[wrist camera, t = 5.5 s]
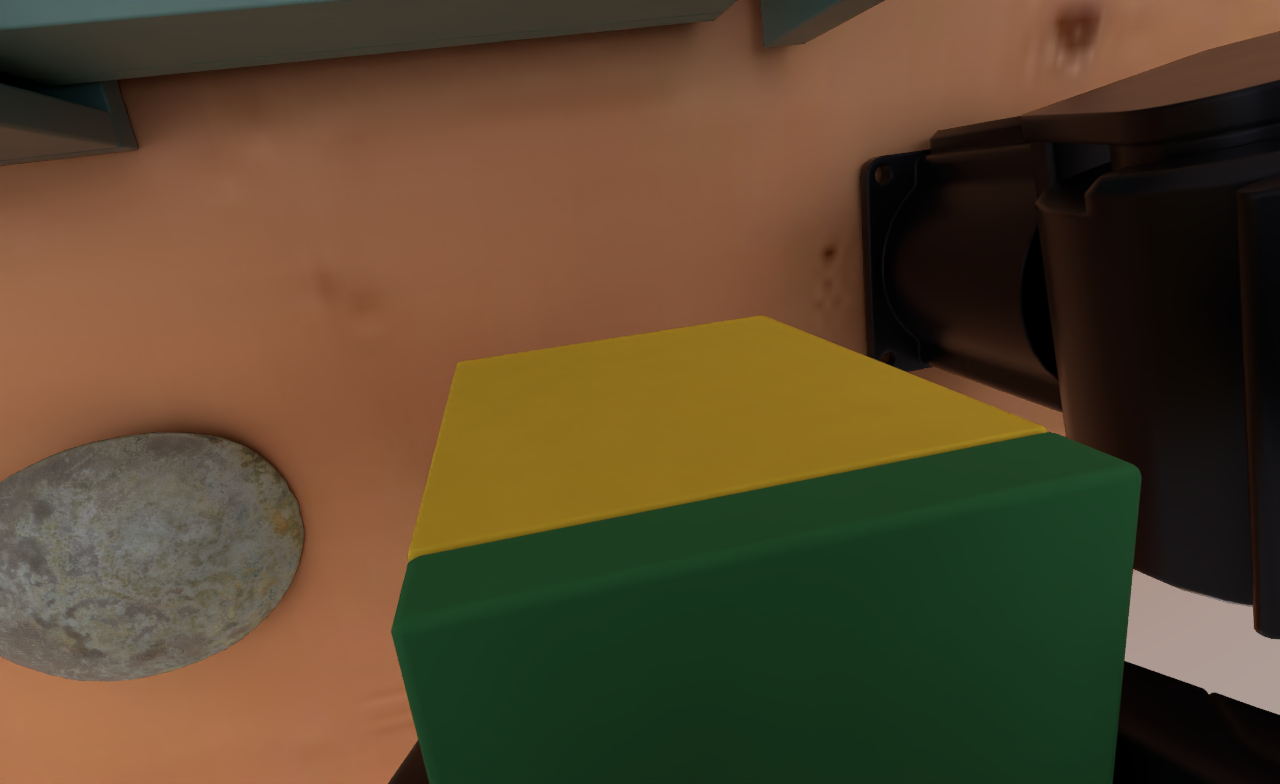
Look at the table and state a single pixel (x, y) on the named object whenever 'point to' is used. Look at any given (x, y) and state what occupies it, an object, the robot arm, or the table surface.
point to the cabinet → (61, 120)
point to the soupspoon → (141, 554)
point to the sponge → (759, 573)
